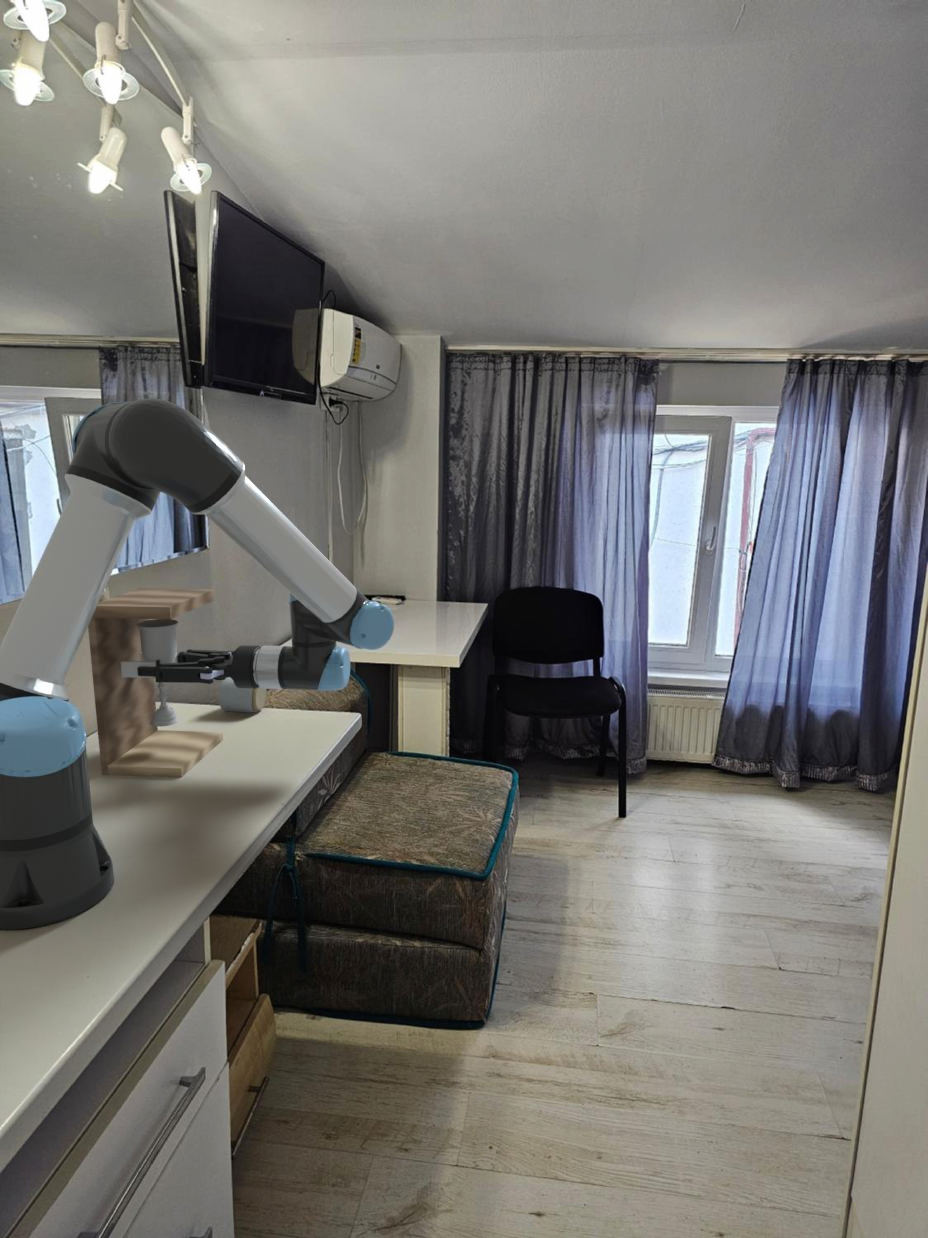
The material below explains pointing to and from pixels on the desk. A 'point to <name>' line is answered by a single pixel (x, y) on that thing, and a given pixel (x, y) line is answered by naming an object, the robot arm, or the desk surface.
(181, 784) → the desk surface
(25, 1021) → the desk surface
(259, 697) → the ceramic mug
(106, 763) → the walnut shelf
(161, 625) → the chalice
